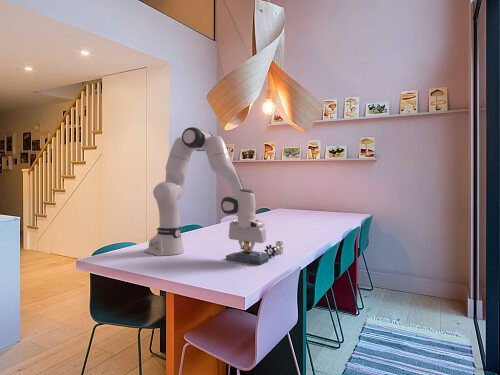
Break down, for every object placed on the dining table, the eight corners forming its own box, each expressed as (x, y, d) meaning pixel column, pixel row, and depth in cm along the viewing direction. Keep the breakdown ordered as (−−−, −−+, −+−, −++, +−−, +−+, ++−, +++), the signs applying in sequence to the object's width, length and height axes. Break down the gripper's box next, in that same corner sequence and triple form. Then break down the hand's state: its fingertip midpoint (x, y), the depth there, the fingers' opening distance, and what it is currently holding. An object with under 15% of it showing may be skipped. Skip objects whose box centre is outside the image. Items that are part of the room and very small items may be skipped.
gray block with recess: (226, 259, 170) (225, 250, 170) (235, 256, 177) (235, 247, 177) (260, 265, 159) (260, 255, 159) (268, 261, 166) (268, 252, 166)
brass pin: (241, 257, 167) (241, 239, 167) (245, 255, 171) (245, 237, 170) (247, 258, 165) (247, 240, 165) (252, 256, 169) (252, 238, 168)
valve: (276, 252, 185) (264, 256, 175) (276, 240, 185) (264, 244, 175) (286, 253, 181) (275, 258, 172) (286, 241, 181) (275, 245, 171)
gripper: (226, 221, 170) (226, 248, 171) (260, 224, 159) (260, 253, 160) (233, 219, 175) (233, 246, 176) (267, 223, 164) (267, 251, 165)
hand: (246, 249), depth 168 cm, fingers open, 3 cm apart
